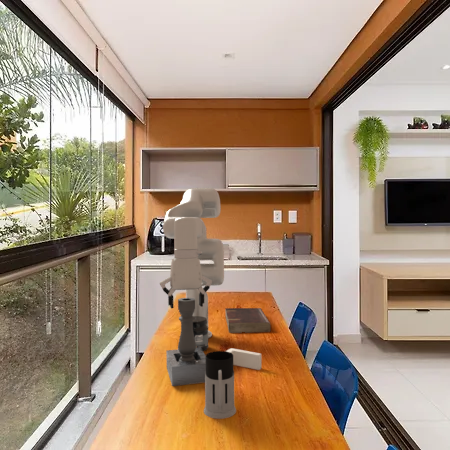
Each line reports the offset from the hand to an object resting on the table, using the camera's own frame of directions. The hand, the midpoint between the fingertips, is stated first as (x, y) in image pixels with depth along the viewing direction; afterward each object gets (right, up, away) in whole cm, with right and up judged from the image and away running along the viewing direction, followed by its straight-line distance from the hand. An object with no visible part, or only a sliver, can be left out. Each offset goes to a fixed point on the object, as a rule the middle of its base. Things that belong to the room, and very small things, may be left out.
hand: (186, 306), depth 135 cm
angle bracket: (+16, -22, +7) cm, 29 cm away
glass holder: (+11, -24, -27) cm, 38 cm away
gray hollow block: (0, -23, +1) cm, 23 cm away
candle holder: (0, -23, +1) cm, 23 cm away
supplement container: (+1, -22, +27) cm, 35 cm away
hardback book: (+23, -22, +64) cm, 71 cm away
